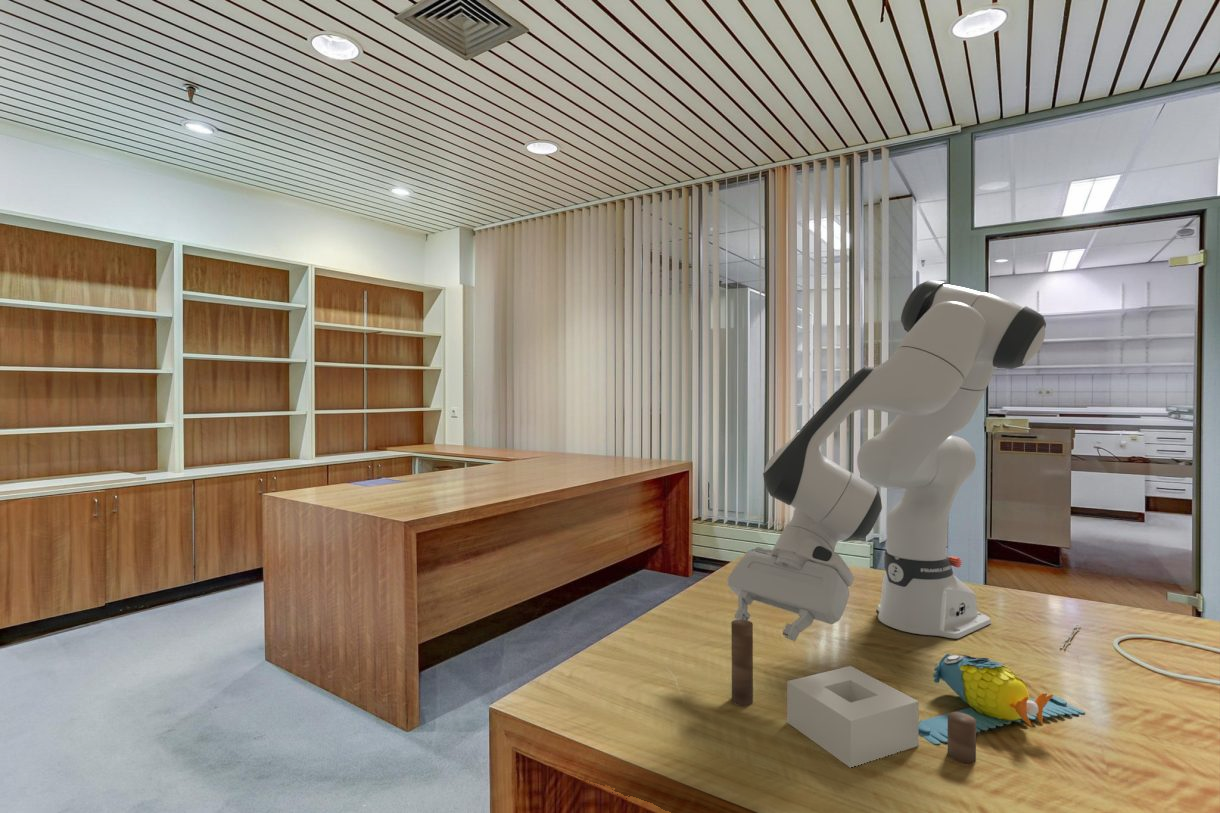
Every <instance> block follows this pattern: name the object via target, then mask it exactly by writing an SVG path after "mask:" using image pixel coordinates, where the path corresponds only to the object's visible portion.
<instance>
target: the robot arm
mask: <svg viewBox="0 0 1220 813" xmlns="http://www.w3.org/2000/svg"><path fill="white" fill-rule="evenodd" d="M900 323H901V325H902V327H903V329H904V330H905V331H906V332H907V334H906V335H905V336H904V338H903V339H902V340H901V342H900V344H898V346H897V348H896V349H895V351H894V352H893V354H892V355H891V356H890V357H889V358H888V359H886V360H885V361H884V362H883V363H881V364H879V365H877V366H875V367H874V366H864V367H863V368H861V369H859V370H858V371H856V372H855V373H854V374H853V375H851V376H850V377H849V379H847V380H846V381H845V382H844V383H843V384H842V385H841V386H840V388H838V389H837V390H836V391H834V393H833V394H832V395H831V396H830V397H829V399H827V400H826V401H825V402H824V403H823V405H822V406H821V407H820V408H819V409H818V410H817V411H816V413H814V415H813V416H812V417H811V418H810V419H809V420H807V422H805V425H803V426H802V428H801V429H800V430H799V431H798V432H797V433H796V434H795V435H794V436H793V437H792V438H791V439H790V440H788V441H787V442H786V443H784V444H783V445H782V446H780V447H779V449H777V450H776V451H775V452H774V453H773V454H772V455H771V457H770V458H769V460H768V462H767V463H766V465H765V468H764V471H763V472H762V475H763V476H762V477H763V481H764V484H765V487H766V489H767V492H768V494H769V496H770V497H772V498H773V499H776V500H778V501H780V502H782V503H784V504H785V505H788V506H791V507H793V508H794V510H793V514H792V517H791V520H790V521H789V522H788V523H787V524H786V525H785V526H784V528H783V530H782V531H781V533H780V535H779V537H778V539H777V541H776V542H775V544H774V546H773V548H772V549H767V548H766V549H765V548H764V547H760V546H758V547H755V548H753V549H750V550H747V551H746V552H745V553H744V555H743V556H742V557H741V558H740V560H739V561H738V562H737V564H736V565H735V566H734V567H733V568H732V570H731V572H730V574H729V575H728V576H727V581H726V582H727V585H728V587H729V588H730V590H731V591H732V592H733V594H735V595H736V596H738V597H737V598H738V599H737V602H738V603H737V604H738V608H737V610H736V612H735V614H734V619H735V620H747V621H749V620H750V618H751V616H752V615H751V614H750V613H749V612H748V608H749V607H748V606H751V605H752V604H753V601H754V602H758V603H760V604H764V605H767V606H771V607H772V608H777V609H780V610H783V611H787V612H791V613H793V614H797V615H798V618H797V619H795V620H794V621H793V622H792V623H788V622H787V623H786V624H785V626H784V628H783V631H782V635H783V636H784V637H785V638H786V639H788V640H791V641H794V642H796V640H797V639H798V637H799V635H800V633H802V632H803V631H804V630H806V629H808V628H809V627H810V626H812V624H813V622H814V620H816V621H819V622H822V623H825V624H829V625H834V624H836V623H838V622H839V621H840V620H841V619H842V616H843V614H844V612H845V609H846V607H847V604H848V602H849V597H850V589H849V587H851V586H852V585H853V583H854V582H855V577H854V575H853V572H852V570H851V569H850V567H849V566H848V565H847V563H846V562H845V561H844V559H843V557H841V555H840V554H839V553H838V552H836V551H835V549H836V545H837V543H838V542H839V541H842V542H851V541H855V540H860V539H864V538H865V537H867V536H868V535H869V534H870V533H871V531H872V530H873V528H874V526H875V524H876V522H877V521H878V518H879V516H880V514H881V512H882V509H883V505H882V504H883V503H882V497H881V494H880V492H879V490H878V488H876V487H879V488H882V489H883V488H884V489H885V488H886V489H892V490H901V489H902V490H903V489H904V491H903V495H902V497H901V499H900V500H899V502H898V503H897V504H896V505H895V506H893V508H891V509H890V510H889V512H888V514H887V517H886V550H885V551H884V557H883V565H884V566H883V568H884V569H885V573H884V574H883V577H882V578H883V579H882V584H881V586H882V587H881V594H880V596H881V597H880V603H878V604H877V611H878V616H877V618H878V620H879V621H880V622H881V623H882V624H883V625H886V626H888V627H890V628H893V629H896V630H898V631H901V632H905V633H910V634H918V635H923V636H937V637H944V638H948V639H960V638H962V637H964V636H966V635H968V634H970V633H971V634H972V633H973V632H975V631H977V630H980V629H981V628H984V627H986V626H988V625H990V624H991V623H992V621H991V617H989V615H986V614H984V613H982V612H981V611H978V602H977V595H976V593H975V592H974V591H973V590H972V589H971V588H970V587H968V586H967V585H966V584H965V583H964V582H962V581H961V580H960V579H959V578H958V577H957V576H955V575H954V571H953V568H952V566H953V567H955V568H960V567H961V565H963V564H962V563H963V561H962V558H961V557H955V556H953V555H950V556H949V557H948V556H947V545H948V543H947V542H948V540H947V539H948V522H949V521H948V520H949V515H950V511H951V509H952V505H953V503H954V501H955V498H956V495H957V493H958V491H959V489H960V488H961V486H962V485H963V484H964V482H965V481H966V480H967V479H969V478H970V477H971V475H973V473H974V471H975V467H976V461H977V459H976V454H975V453H976V452H975V450H974V449H973V446H972V445H971V444H970V443H969V442H968V441H967V440H966V439H965V438H962V437H959V436H955V435H953V434H955V433H957V432H958V431H960V430H962V429H964V428H965V427H966V426H967V425H968V424H969V423H970V421H971V420H972V417H973V415H974V414H975V412H976V409H977V408H978V406H979V404H980V401H981V400H982V397H983V396H984V394H985V392H986V389H987V388H988V386H989V384H990V382H991V380H992V377H993V374H994V372H995V369H1005V370H1013V369H1016V368H1021V367H1023V366H1025V365H1026V363H1028V361H1030V360H1031V359H1033V358H1034V356H1036V355H1037V353H1038V352H1039V351H1040V349H1041V348H1042V346H1043V343H1044V341H1045V336H1046V327H1047V323H1046V320H1045V318H1044V316H1043V315H1042V313H1039V312H1038V311H1036V310H1034V309H1032V308H1031V307H1028V306H1027V305H1025V306H1021V305H1019V304H1017V303H1015V302H1012V301H1010V300H1008V299H1005V298H1003V297H1001V296H998V295H995V294H993V293H990V292H986V291H985V292H982V291H978V290H975V289H971V288H967V287H963V286H958V285H952V284H948V282H946V281H941V280H930V279H929V280H926V281H924V282H921V283H920V284H918V285H917V286H916V287H915V288H913V290H912V291H911V293H910V294H909V295H908V297H907V298H906V300H905V302H904V305H903V307H902V313H901V316H900ZM859 410H873V411H879V412H884V413H889V414H894V415H897V416H896V417H895V418H894V419H893V420H892V421H891V422H890V423H889V424H888V425H887V426H886V427H885V428H883V430H882V431H880V432H879V433H878V434H877V435H875V436H873V437H871V438H869V439H868V440H866V441H864V442H863V443H862V445H861V446H860V448H859V450H858V452H857V458H856V464H857V469H858V473H859V474H860V476H861V477H860V476H859V475H856V474H855V473H854V472H852V471H849V470H848V469H846V468H844V467H842V466H841V465H840V464H838V463H836V462H834V461H833V460H831V459H830V458H828V457H826V456H825V455H823V453H821V451H820V447H821V445H822V444H823V443H824V442H825V441H826V440H827V439H828V438H829V437H830V436H831V435H832V434H833V433H834V432H835V431H836V429H838V427H839V426H840V425H841V424H842V423H843V422H844V421H845V420H846V419H847V417H848V416H850V414H853V413H854V412H857V411H859Z"/></svg>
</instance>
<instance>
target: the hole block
mask: <svg viewBox="0 0 1220 813" xmlns="http://www.w3.org/2000/svg"><path fill="white" fill-rule="evenodd" d="M786 688H787V690H786V697H787V698H786V699H787V700H786V701H787V702H786V703H787V704H786V715H787V716H786V718H787V719H786V722H787V724H789V725H790V726H791V727H793V728H794V729H795V730H797V731H798V732H800V733H801V734H803V735H804V736H805V737H807V738H808V739H809V740H811V741H812V742H814V743H815V744H816V745H817V746H819V747H821V748H822V749H824V751H826V752H828V753H829V754H831V755H832V756H833V757H835V758H836V759H838V760H839V761H840V762H841V763H842V764H844V765H846V766H847V767H849V768H850V769H852V768H851V767H853V768H855V767H854V766H856V767H859V766H861V764H862V765H865V764H868V763H870V762H869V761H871V762H874V761H876V759H877V760H880V759H882V758H886V757H889V756H892V755H895V754H898V753H901V752H904V751H907V750H911V749H913V748H917V747H919V746H920V745H919V741H920V740H919V735H920V734H919V722H920V721H919V719H920V717H919V715H920V712H919V707H920V706H919V700H917V699H915V698H913V697H911V696H910V695H907V694H906V693H903V692H901V691H899V690H897V689H896V688H893V687H892V686H890V685H887V684H886V683H884V682H883V681H881V680H878V679H876V678H874V677H872V676H870V675H869V674H867V673H865V672H863V671H861V670H859V669H857V668H856V667H854V666H852V665H849V666H845V667H840V668H836V669H833V670H828V671H823V672H820V673H819V672H818V673H816V674H811V675H807V676H803V677H799V678H794V679H790V680H787V682H786ZM900 751H901V752H900ZM897 752H898V753H897ZM891 754H892V755H891ZM888 755H889V756H888ZM885 756H886V757H885ZM879 758H880V759H879ZM873 760H874V761H873ZM867 762H868V763H867ZM864 763H865V764H864ZM858 765H859V766H858Z"/></svg>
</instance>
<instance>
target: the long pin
mask: <svg viewBox="0 0 1220 813" xmlns="http://www.w3.org/2000/svg"><path fill="white" fill-rule="evenodd" d="M730 623H731V702H732V703H734V705H738V706H740V707H741V706H742V707H747V706H751V705H753V703H754V664H753V663H754V654H753V653H754V651H753V650H754V645H753V644H754V641H753V640H754V635H753V634H754V629H753V628H754V627H753V626H754V623H753V622H752V621H750V620H748V621H747V620H737V619H735V620H732V621H731V622H730Z"/></svg>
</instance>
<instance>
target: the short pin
mask: <svg viewBox="0 0 1220 813" xmlns="http://www.w3.org/2000/svg"><path fill="white" fill-rule="evenodd" d="M947 714H948V713H947ZM947 739H948V743H947V756H948V757H949V758H950V759H952V760H953V761H955V762H957V763H960V764H964V765H965V764H967V765H971V764H974V763H975V762H976V761H977V732H976V720H975V719H974V718H973V717H972V716H970V715H967V714H964V713H960V712H956V711H952V712H949V714H948V738H947Z"/></svg>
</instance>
